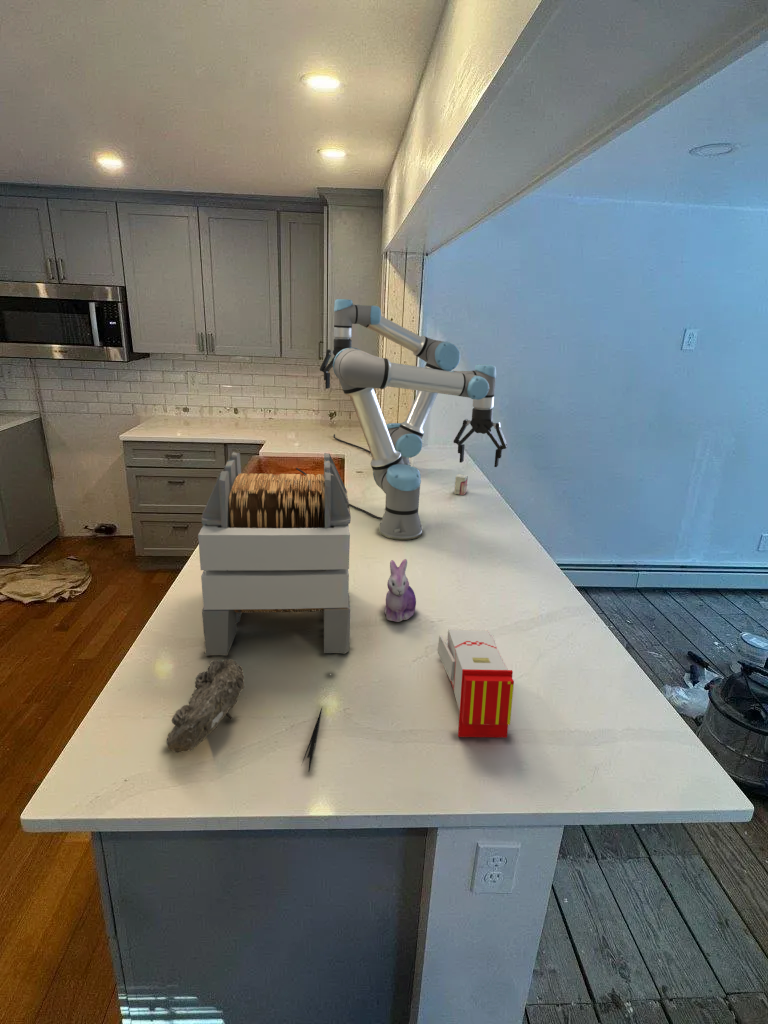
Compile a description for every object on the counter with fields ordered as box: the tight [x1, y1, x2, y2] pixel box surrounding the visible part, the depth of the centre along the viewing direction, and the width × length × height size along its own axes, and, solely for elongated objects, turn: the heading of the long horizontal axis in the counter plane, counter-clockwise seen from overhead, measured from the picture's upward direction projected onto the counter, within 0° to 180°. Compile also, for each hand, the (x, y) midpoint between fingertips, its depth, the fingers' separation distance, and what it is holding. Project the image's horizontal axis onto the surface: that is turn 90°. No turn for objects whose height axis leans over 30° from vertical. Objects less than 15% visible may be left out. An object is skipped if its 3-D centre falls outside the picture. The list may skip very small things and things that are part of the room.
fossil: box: [166, 658, 245, 754], centre depth 106 cm, size 22×10×15 cm
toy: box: [437, 628, 515, 738], centre depth 117 cm, size 12×13×30 cm
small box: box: [454, 473, 469, 496], centre depth 246 cm, size 5×4×8 cm
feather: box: [301, 673, 332, 771], centre depth 108 cm, size 2×28×2 cm
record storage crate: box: [197, 451, 352, 657], centre depth 136 cm, size 34×33×41 cm
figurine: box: [384, 558, 417, 623], centre depth 145 cm, size 9×10×15 cm
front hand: (478, 464), depth 215 cm, fingers open, 13 cm apart
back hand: (341, 389), depth 245 cm, fingers open, 13 cm apart
